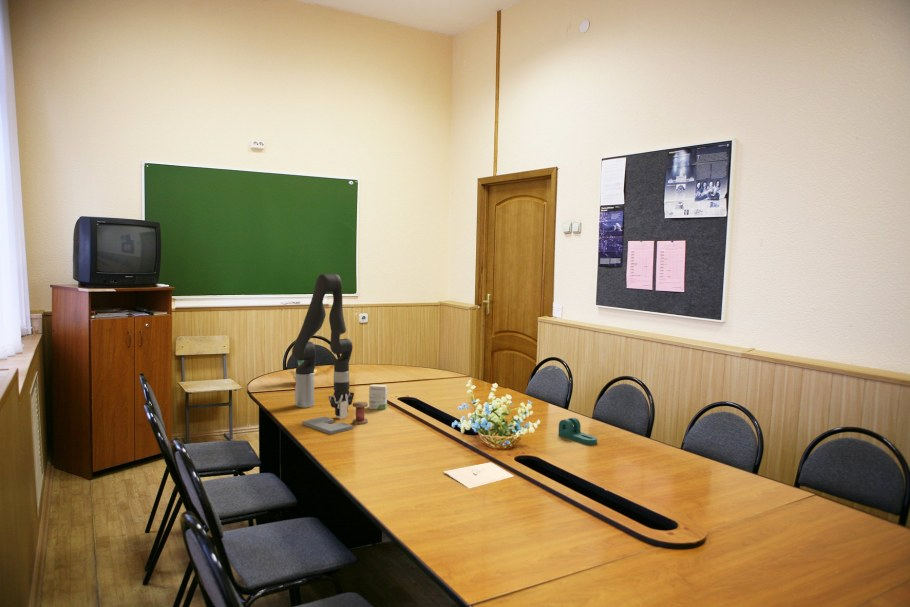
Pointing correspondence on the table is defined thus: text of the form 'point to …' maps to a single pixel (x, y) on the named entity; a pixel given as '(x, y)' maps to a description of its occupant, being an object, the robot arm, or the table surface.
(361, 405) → the spool
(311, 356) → the robot arm
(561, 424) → the bracket
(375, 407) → the ink box
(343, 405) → the block
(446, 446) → the table surface
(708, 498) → the table surface
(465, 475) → the paper sheet
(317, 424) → the notched board
